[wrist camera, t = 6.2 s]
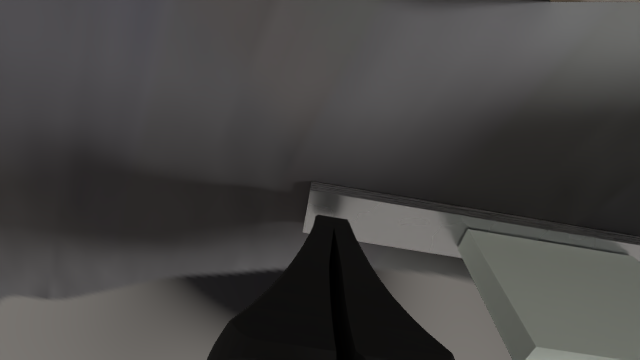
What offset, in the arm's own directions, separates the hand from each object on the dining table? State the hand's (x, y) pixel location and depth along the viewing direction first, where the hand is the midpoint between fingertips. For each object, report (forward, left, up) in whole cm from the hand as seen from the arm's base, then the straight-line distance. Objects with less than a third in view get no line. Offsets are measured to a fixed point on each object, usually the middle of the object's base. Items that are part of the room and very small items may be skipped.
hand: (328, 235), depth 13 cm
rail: (-7, 0, -2) cm, 7 cm away
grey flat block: (-10, 0, -2) cm, 11 cm away
